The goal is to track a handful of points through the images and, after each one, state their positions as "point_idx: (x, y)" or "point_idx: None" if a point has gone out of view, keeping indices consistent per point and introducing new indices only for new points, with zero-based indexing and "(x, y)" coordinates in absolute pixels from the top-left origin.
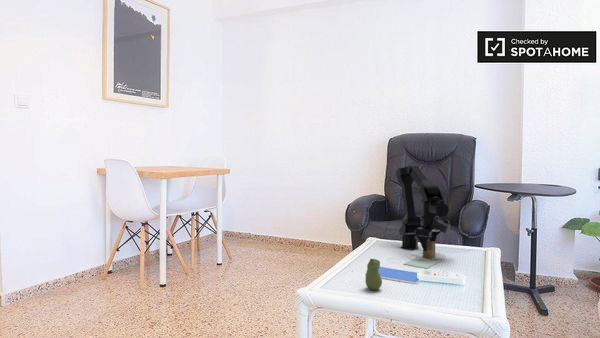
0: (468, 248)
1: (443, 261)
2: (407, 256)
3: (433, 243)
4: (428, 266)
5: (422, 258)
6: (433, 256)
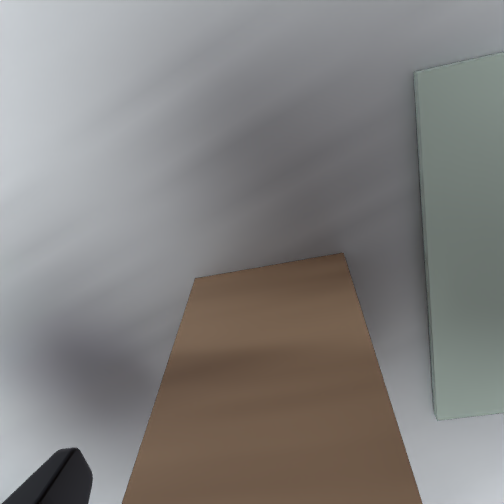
0: None
1: (334, 32)
2: (446, 496)
3: (290, 496)
4: None
5: (457, 341)
6: (271, 280)
